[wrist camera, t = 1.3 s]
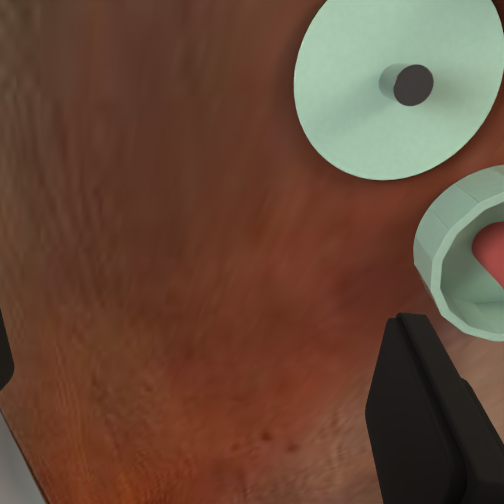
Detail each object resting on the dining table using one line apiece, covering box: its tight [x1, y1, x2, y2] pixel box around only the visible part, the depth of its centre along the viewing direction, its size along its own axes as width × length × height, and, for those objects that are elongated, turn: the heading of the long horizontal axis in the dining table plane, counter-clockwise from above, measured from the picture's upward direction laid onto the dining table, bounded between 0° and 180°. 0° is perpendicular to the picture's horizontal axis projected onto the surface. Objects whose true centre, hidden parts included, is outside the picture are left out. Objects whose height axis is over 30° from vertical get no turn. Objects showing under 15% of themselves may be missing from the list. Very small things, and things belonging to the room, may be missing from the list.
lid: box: [294, 0, 504, 180], centre depth 29 cm, size 16×16×6 cm
